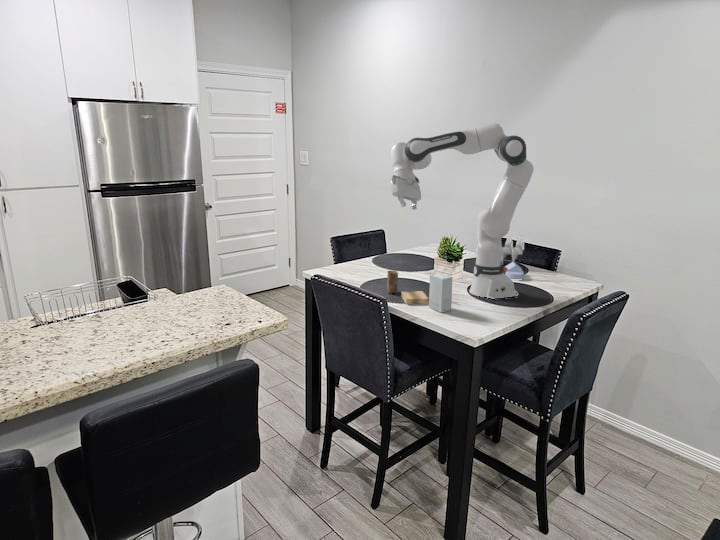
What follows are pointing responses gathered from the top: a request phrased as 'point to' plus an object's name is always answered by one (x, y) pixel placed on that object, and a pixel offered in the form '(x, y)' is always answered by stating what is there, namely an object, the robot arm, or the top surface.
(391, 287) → the walnut post
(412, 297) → the oak slab
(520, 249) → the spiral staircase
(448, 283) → the skincare box
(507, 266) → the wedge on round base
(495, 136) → the robot arm
